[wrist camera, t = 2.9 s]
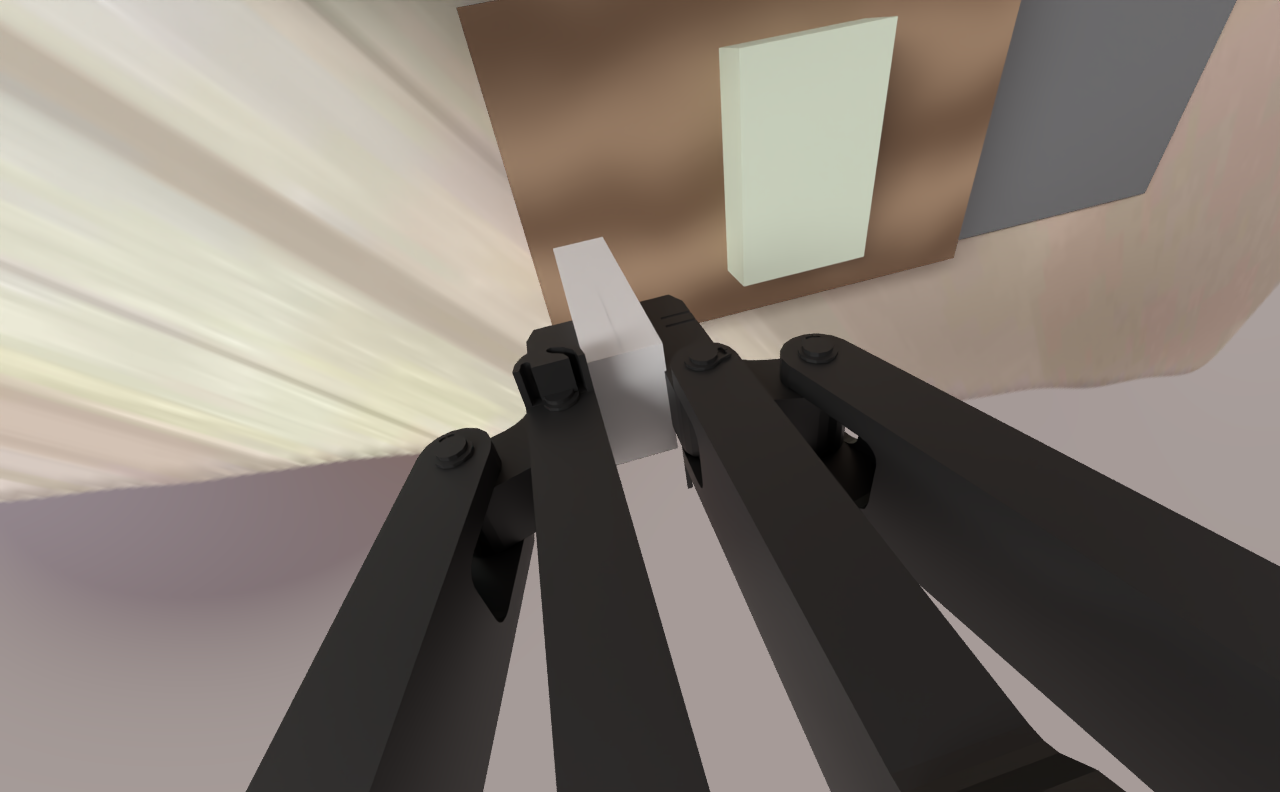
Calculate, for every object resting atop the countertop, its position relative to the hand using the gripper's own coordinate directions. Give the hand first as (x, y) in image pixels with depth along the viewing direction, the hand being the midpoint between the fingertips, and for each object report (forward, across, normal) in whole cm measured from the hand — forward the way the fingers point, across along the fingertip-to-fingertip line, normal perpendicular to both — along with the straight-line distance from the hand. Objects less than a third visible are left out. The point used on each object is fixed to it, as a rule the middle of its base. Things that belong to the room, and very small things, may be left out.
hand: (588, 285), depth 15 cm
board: (+11, +9, 0) cm, 15 cm away
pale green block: (+7, +10, 0) cm, 13 cm away
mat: (+11, +29, 0) cm, 31 cm away
